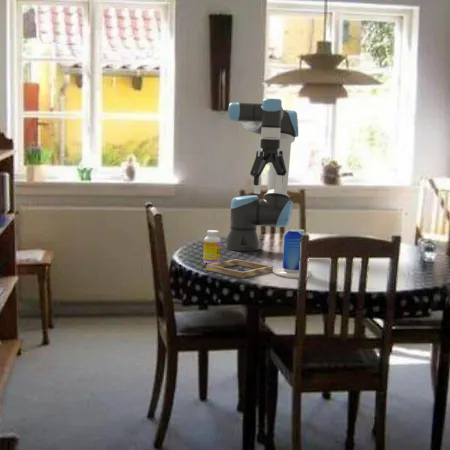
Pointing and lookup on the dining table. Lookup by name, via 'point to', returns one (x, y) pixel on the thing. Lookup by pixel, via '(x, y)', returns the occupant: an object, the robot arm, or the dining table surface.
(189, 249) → the dining table surface
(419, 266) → the dining table surface
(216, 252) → the supplement bottle
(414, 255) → the dining table surface
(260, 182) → the robot arm
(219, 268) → the oak frame
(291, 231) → the beer can
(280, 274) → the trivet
